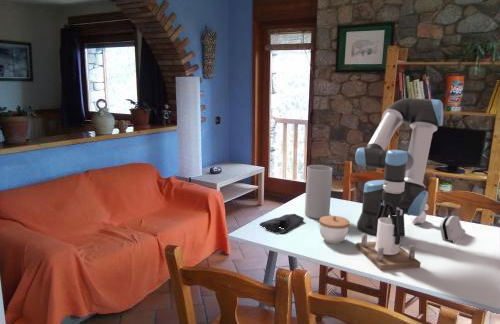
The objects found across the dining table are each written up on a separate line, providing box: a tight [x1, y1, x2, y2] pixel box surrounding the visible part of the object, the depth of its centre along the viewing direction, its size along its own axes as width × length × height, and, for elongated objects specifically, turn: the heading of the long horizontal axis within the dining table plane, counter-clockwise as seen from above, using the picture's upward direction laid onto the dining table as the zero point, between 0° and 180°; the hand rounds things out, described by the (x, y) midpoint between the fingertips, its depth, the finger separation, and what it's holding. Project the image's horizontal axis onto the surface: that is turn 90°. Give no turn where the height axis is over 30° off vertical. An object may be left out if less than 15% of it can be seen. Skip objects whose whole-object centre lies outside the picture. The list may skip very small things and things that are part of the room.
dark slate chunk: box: [259, 213, 305, 234], centre depth 181 cm, size 15×22×5 cm
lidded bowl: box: [318, 215, 350, 245], centre depth 163 cm, size 13×13×11 cm
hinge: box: [439, 215, 466, 244], centre depth 171 cm, size 17×5×10 cm, turn 136°
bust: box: [410, 203, 429, 225], centre depth 187 cm, size 12×8×11 cm
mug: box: [375, 217, 398, 255], centre depth 148 cm, size 12×8×12 cm
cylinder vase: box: [304, 164, 333, 220], centre depth 193 cm, size 12×12×25 cm
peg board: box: [355, 233, 422, 271], centre depth 149 cm, size 20×16×7 cm
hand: (387, 245), depth 149 cm, fingers closed on mug, 10 cm apart
